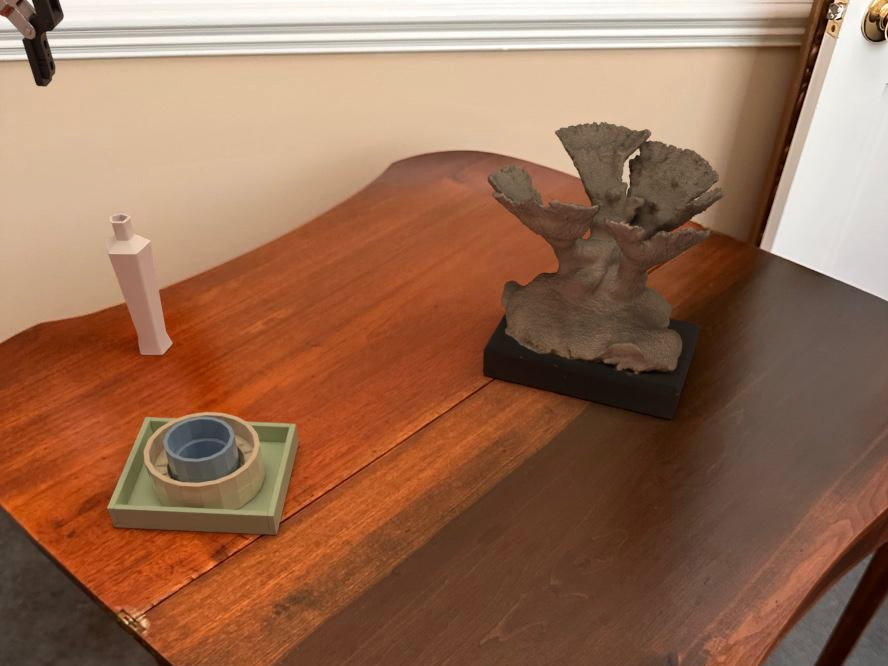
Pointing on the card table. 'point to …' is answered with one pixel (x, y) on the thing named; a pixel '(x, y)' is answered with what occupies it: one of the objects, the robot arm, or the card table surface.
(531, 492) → the card table surface
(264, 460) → the tray
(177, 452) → the blue cup
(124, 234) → the perfume bottle
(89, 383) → the card table surface
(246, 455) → the large bowl
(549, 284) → the coral
